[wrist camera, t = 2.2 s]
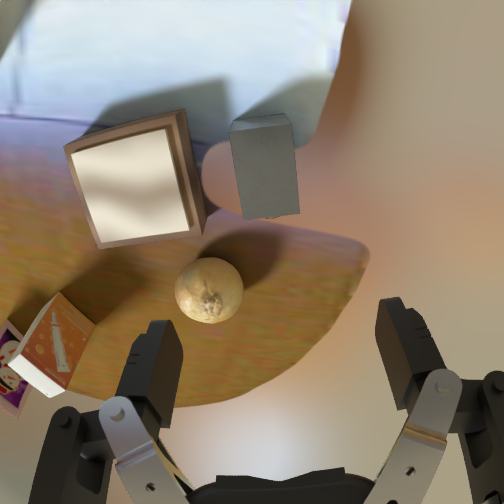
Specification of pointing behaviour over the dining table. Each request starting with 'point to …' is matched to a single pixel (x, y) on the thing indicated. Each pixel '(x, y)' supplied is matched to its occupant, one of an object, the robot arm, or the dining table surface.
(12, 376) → the greeting card
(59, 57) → the dining table surface
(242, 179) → the block
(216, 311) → the onion
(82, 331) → the small box
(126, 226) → the stand
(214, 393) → the dining table surface
